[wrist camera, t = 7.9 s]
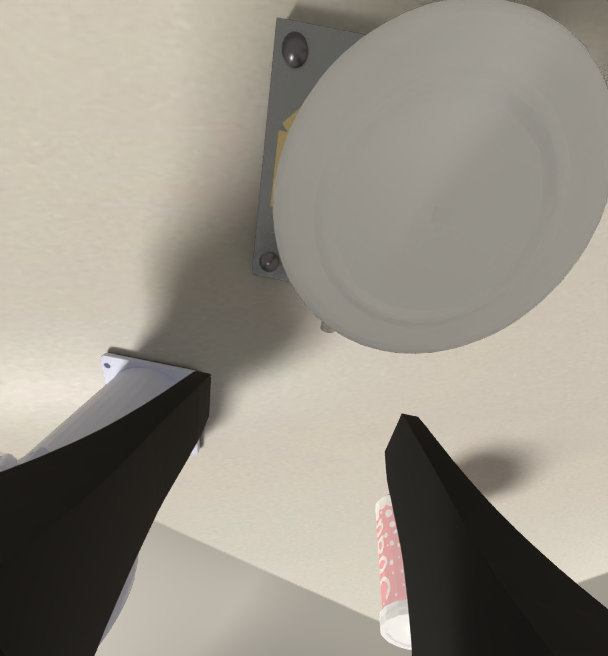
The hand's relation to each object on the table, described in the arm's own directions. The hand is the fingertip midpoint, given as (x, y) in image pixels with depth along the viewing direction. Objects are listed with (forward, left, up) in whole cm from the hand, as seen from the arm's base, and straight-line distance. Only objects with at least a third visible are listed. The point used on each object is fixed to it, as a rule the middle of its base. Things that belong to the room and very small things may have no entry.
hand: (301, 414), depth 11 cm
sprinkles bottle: (+8, -1, -10) cm, 12 cm away
